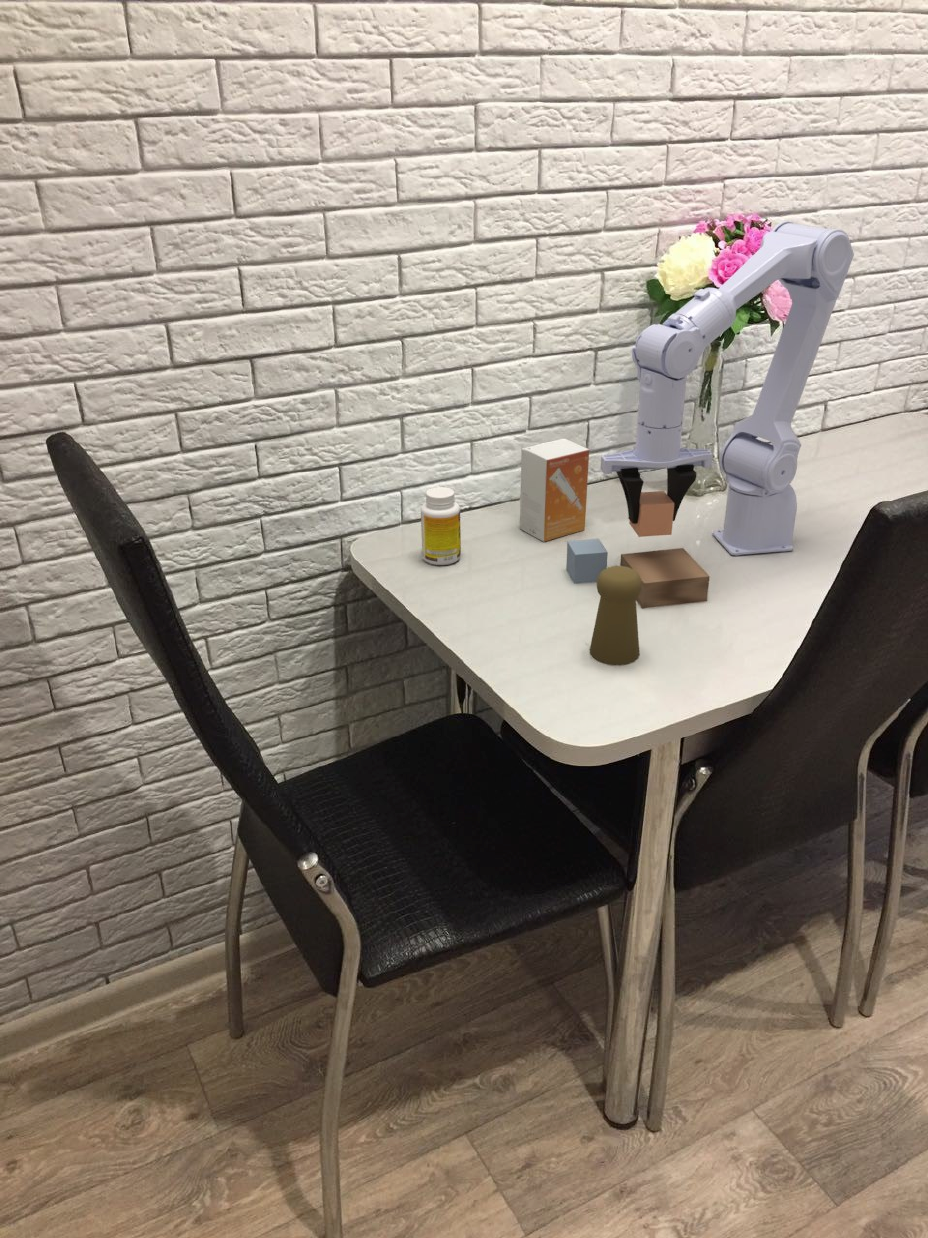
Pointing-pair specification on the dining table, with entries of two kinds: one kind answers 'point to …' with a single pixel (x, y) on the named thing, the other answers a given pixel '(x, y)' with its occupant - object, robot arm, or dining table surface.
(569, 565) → the slate-blue cube
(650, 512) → the terracotta cube
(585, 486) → the small box
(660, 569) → the walnut block
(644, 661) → the dining table surface
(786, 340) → the robot arm
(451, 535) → the supplement bottle
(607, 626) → the olive game pawn
